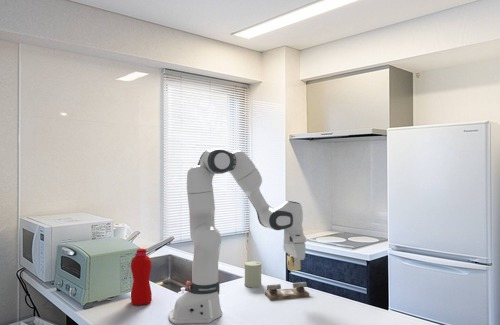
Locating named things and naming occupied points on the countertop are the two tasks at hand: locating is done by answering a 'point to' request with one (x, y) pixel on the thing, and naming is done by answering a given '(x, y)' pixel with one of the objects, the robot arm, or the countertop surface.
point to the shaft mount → (286, 291)
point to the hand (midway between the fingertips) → (293, 265)
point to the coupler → (290, 263)
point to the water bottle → (141, 278)
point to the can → (252, 274)
